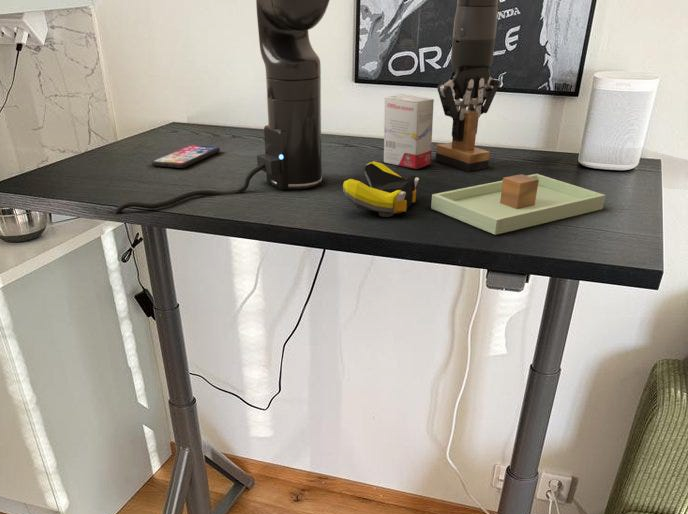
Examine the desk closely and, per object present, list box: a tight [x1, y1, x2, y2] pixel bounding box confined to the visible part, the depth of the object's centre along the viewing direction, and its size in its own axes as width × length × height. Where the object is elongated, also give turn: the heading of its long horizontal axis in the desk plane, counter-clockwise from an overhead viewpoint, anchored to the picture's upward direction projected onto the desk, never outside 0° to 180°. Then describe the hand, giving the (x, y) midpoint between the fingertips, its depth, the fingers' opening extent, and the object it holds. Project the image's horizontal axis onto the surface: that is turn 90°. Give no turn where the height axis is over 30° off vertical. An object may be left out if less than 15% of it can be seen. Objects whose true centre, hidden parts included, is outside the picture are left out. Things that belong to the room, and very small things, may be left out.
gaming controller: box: [342, 161, 420, 218], centre depth 120 cm, size 15×6×10 cm
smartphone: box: [151, 144, 221, 169], centre depth 147 cm, size 8×1×15 cm
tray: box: [430, 173, 606, 236], centre depth 119 cm, size 24×16×2 cm, turn 122°
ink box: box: [383, 93, 435, 170], centre depth 140 cm, size 9×5×12 cm, turn 44°
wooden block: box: [500, 173, 539, 209], centre depth 118 cm, size 4×4×4 cm
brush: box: [435, 108, 491, 173], centre depth 140 cm, size 5×10×10 cm, turn 32°
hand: (463, 139), depth 140 cm, fingers closed on brush, 2 cm apart
